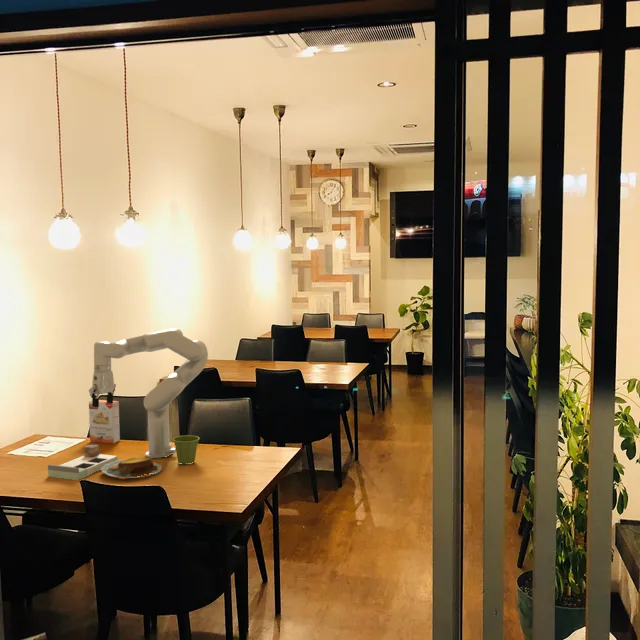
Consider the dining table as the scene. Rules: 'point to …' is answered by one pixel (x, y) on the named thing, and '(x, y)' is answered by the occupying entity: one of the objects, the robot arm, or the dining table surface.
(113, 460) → the box
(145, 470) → the food on plate
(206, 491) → the dining table surface
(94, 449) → the walnut block
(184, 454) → the plant pot
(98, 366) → the robot arm
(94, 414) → the cracker box
